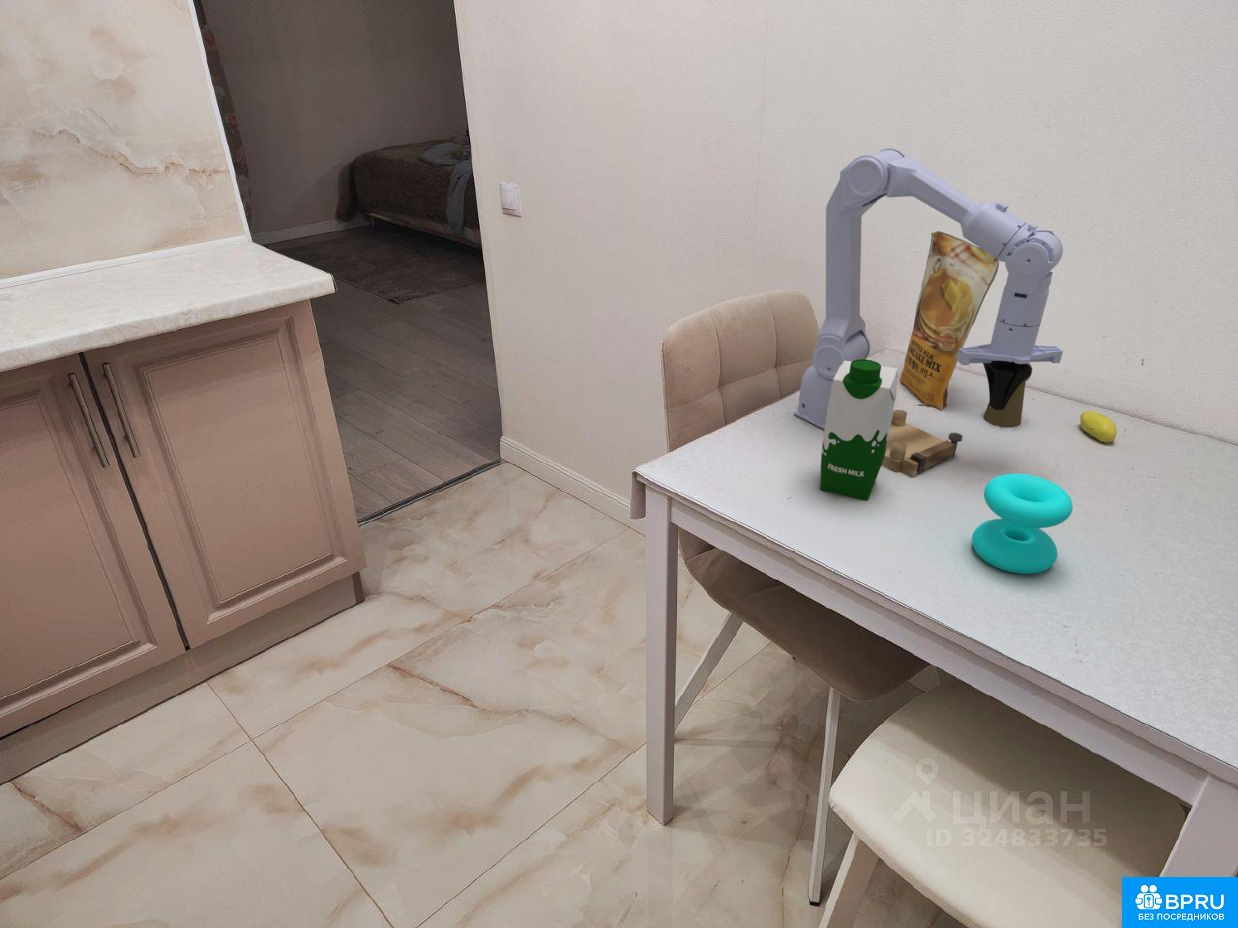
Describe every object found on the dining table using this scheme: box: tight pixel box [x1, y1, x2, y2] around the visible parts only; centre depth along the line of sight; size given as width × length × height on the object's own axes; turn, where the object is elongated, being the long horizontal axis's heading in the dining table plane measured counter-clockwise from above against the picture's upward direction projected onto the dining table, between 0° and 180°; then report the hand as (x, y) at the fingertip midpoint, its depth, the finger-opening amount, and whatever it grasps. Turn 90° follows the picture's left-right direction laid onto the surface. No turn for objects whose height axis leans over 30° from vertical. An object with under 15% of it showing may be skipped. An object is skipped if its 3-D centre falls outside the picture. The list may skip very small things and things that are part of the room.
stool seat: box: [881, 409, 963, 478], centre depth 126 cm, size 13×13×4 cm
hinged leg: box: [911, 440, 955, 474], centre depth 122 cm, size 9×2×2 cm, turn 125°
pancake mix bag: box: [900, 230, 1000, 411], centre depth 141 cm, size 7×19×28 cm, turn 6°
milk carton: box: [819, 358, 898, 501], centre depth 113 cm, size 9×9×20 cm
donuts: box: [971, 473, 1073, 575], centre depth 100 cm, size 10×10×10 cm
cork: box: [982, 362, 1033, 429], centre depth 135 cm, size 6×6×11 cm
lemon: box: [1079, 410, 1118, 443], centre depth 131 cm, size 4×8×4 cm, turn 179°
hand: (996, 407), depth 119 cm, fingers closed
